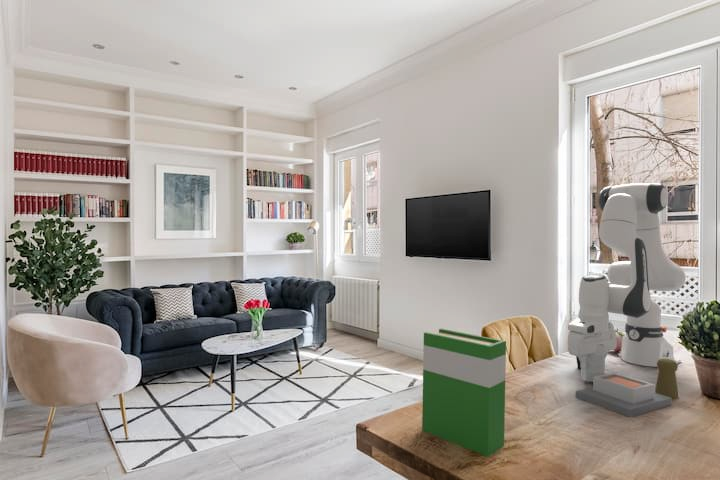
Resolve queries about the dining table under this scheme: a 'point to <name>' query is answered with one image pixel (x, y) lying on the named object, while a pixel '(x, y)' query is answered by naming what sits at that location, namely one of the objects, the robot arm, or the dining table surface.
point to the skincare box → (594, 364)
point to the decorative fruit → (619, 340)
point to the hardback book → (464, 389)
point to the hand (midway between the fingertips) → (592, 366)
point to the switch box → (623, 395)
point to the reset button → (624, 382)
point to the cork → (667, 378)
